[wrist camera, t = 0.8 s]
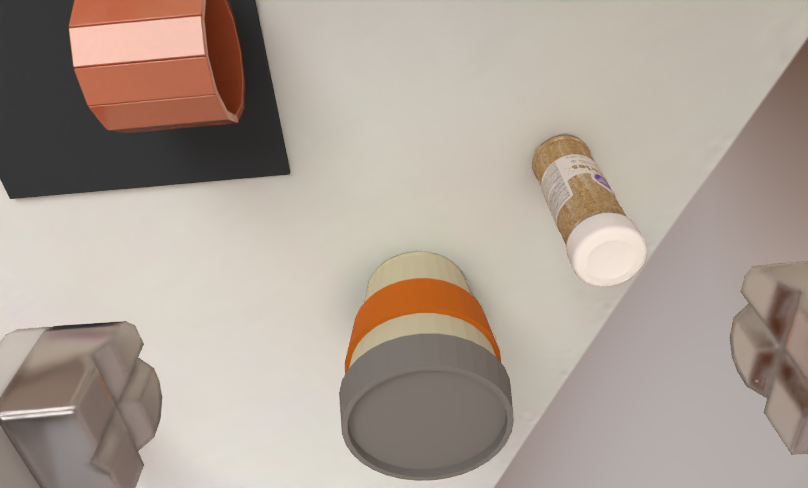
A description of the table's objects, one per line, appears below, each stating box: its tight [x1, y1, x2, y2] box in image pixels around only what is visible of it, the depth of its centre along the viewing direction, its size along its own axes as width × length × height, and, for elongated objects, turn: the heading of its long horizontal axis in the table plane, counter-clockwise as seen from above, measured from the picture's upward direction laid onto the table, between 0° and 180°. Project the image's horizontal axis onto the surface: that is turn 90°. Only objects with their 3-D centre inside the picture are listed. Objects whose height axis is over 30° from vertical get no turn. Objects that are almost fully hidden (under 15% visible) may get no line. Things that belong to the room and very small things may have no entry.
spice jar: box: [532, 136, 647, 287], centre depth 44 cm, size 5×5×13 cm
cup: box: [69, 0, 245, 133], centre depth 40 cm, size 8×8×8 cm
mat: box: [0, 0, 290, 199], centre depth 44 cm, size 22×22×1 cm
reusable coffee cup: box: [339, 252, 514, 480], centre depth 51 cm, size 13×12×15 cm
